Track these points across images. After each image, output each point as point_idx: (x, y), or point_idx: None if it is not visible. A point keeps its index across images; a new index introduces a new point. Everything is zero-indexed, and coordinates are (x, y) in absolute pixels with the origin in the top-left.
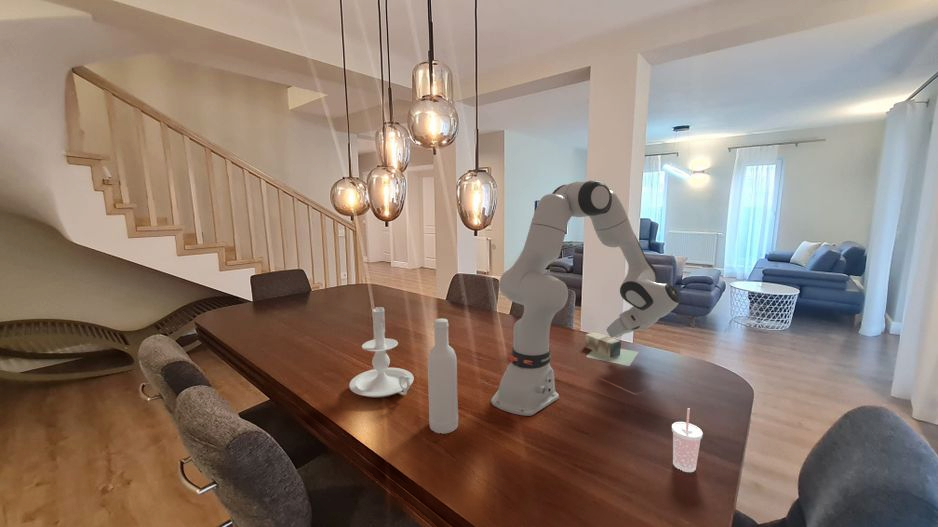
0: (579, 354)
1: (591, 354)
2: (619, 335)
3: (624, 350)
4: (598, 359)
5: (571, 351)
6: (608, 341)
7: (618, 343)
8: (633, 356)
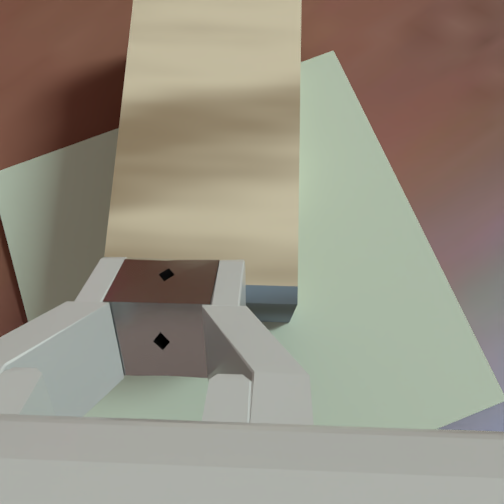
0: (21, 103)
1: (73, 169)
2: (115, 376)
3: (412, 285)
4: (17, 278)
5: (29, 28)
6: (146, 218)
7: (247, 306)
8: None
